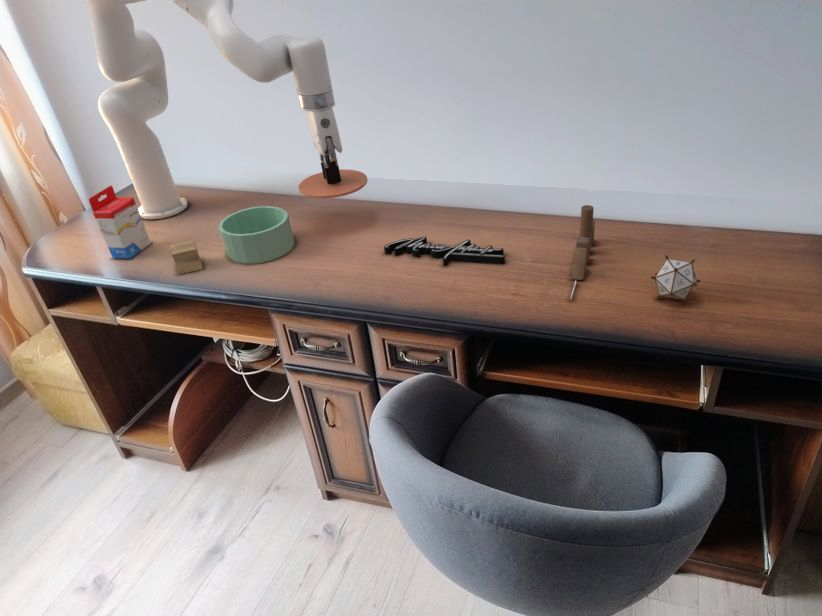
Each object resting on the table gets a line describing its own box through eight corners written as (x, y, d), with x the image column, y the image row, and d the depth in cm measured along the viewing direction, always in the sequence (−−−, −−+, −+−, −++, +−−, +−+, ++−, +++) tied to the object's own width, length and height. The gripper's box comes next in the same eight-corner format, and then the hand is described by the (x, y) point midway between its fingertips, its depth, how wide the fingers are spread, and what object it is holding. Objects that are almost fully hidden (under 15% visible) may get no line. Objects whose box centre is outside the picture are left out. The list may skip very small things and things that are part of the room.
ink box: (130, 259, 146) (105, 200, 138) (112, 258, 147) (85, 199, 139) (152, 242, 153) (129, 184, 144) (134, 241, 154) (110, 184, 145)
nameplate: (377, 255, 137) (392, 234, 145) (378, 262, 138) (392, 241, 146) (502, 262, 131) (510, 240, 139) (502, 269, 132) (510, 247, 140)
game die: (659, 311, 122) (640, 263, 122) (702, 294, 121) (683, 245, 120) (667, 315, 114) (646, 263, 113) (714, 296, 112) (693, 243, 112)
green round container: (223, 242, 151) (215, 215, 146) (288, 227, 155) (281, 200, 151) (231, 270, 139) (222, 241, 135) (301, 253, 144) (294, 225, 139)
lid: (293, 183, 154) (287, 156, 150) (357, 169, 159) (352, 142, 155) (307, 206, 142) (301, 177, 138) (376, 190, 147) (372, 162, 143)
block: (178, 264, 143) (170, 244, 140) (200, 259, 144) (193, 239, 141) (179, 274, 139) (171, 254, 136) (202, 268, 141) (195, 248, 138)
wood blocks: (582, 240, 140) (584, 196, 134) (594, 241, 139) (596, 197, 133) (564, 300, 121) (566, 251, 115) (578, 301, 120) (580, 252, 114)
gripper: (342, 105, 134) (357, 188, 145) (324, 89, 146) (339, 166, 157) (308, 111, 131) (325, 195, 142) (292, 94, 144) (309, 172, 155)
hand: (332, 179), depth 149 cm, fingers closed on lid, 2 cm apart
